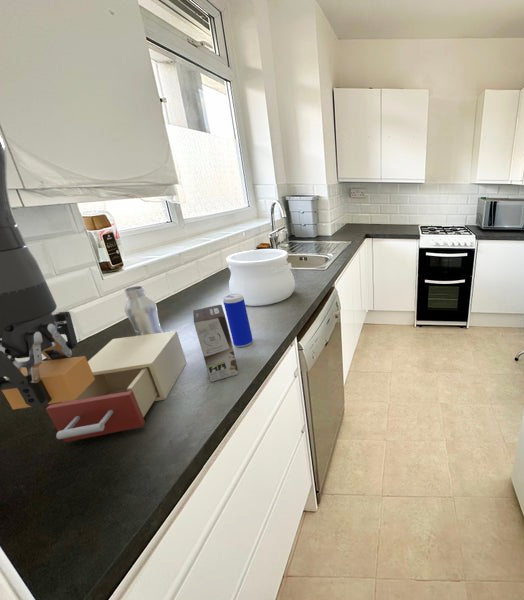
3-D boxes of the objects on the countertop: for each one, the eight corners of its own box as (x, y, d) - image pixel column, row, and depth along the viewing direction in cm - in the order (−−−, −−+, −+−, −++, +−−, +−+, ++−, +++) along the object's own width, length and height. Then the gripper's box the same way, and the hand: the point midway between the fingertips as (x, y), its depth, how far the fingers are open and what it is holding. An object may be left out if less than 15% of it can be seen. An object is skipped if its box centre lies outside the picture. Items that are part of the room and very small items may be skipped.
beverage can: (256, 340, 94) (247, 293, 89) (245, 348, 90) (234, 300, 84) (242, 338, 95) (231, 292, 90) (230, 346, 91) (218, 299, 85)
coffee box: (239, 374, 78) (225, 316, 72) (210, 382, 75) (192, 322, 69) (235, 357, 85) (222, 303, 79) (208, 364, 82) (192, 309, 76)
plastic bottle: (140, 356, 87) (115, 288, 79) (170, 347, 91) (148, 282, 83) (143, 365, 82) (117, 295, 75) (174, 356, 86) (151, 288, 79)
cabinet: (165, 399, 70) (151, 363, 66) (90, 413, 66) (72, 375, 62) (186, 362, 84) (176, 330, 80) (126, 371, 80) (112, 338, 76)
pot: (308, 288, 137) (303, 248, 130) (278, 310, 115) (270, 264, 108) (254, 285, 141) (247, 247, 135) (216, 306, 119) (204, 261, 112)
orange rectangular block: (12, 409, 43) (-3, 383, 42) (40, 387, 48) (27, 362, 46) (74, 400, 45) (62, 374, 44) (95, 379, 50) (85, 355, 48)
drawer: (131, 446, 57) (116, 412, 54) (45, 464, 53) (23, 429, 50) (169, 383, 74) (159, 354, 71) (106, 393, 70) (92, 364, 67)
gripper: (-10, 301, 35) (53, 419, 41) (73, 267, 48) (112, 361, 54) (-103, 308, 33) (-21, 432, 39) (10, 271, 46) (57, 368, 52)
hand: (55, 390), depth 47 cm, fingers closed on orange rectangular block, 5 cm apart
